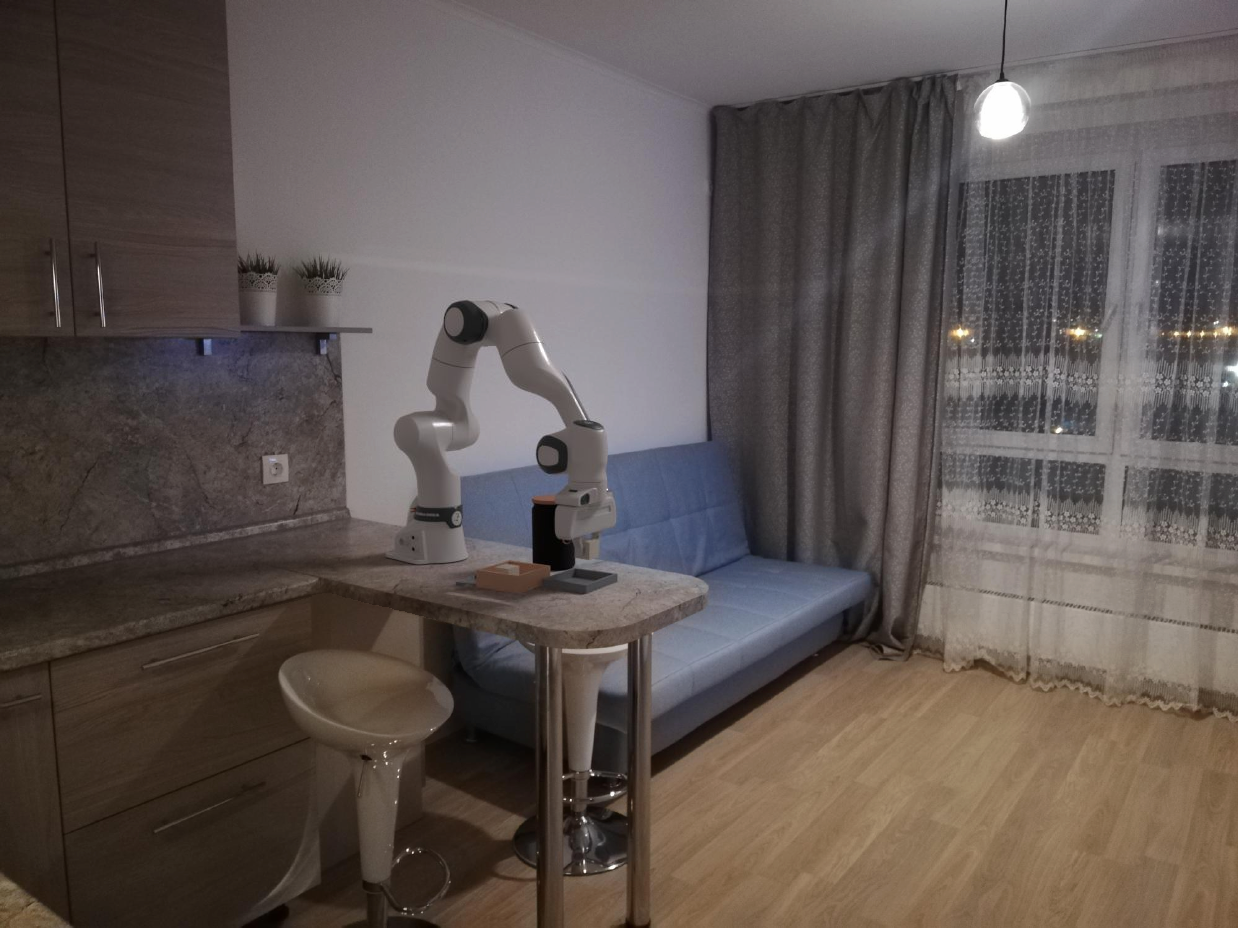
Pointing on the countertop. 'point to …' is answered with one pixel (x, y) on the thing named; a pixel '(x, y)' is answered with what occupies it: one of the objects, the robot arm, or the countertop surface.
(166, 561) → the countertop surface
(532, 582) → the terracotta bin
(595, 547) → the stone
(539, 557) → the coffee jar
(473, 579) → the tray lid
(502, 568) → the cream cube
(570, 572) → the tray
